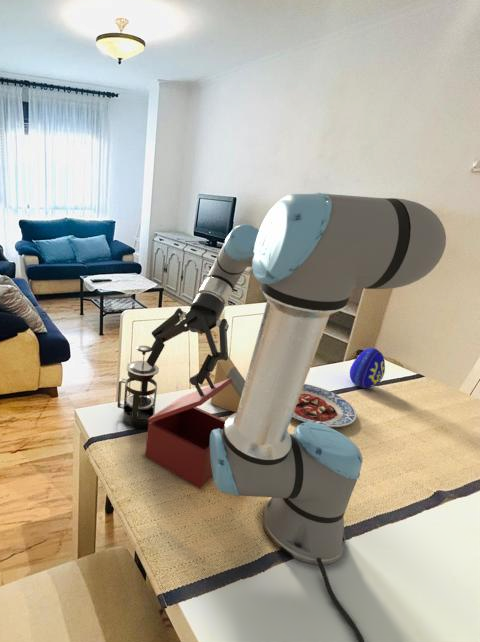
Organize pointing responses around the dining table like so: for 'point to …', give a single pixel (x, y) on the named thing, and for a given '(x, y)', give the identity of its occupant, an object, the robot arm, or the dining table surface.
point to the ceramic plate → (323, 408)
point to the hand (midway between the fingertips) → (172, 373)
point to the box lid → (192, 398)
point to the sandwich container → (233, 391)
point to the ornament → (368, 368)
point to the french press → (138, 392)
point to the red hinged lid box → (184, 444)
